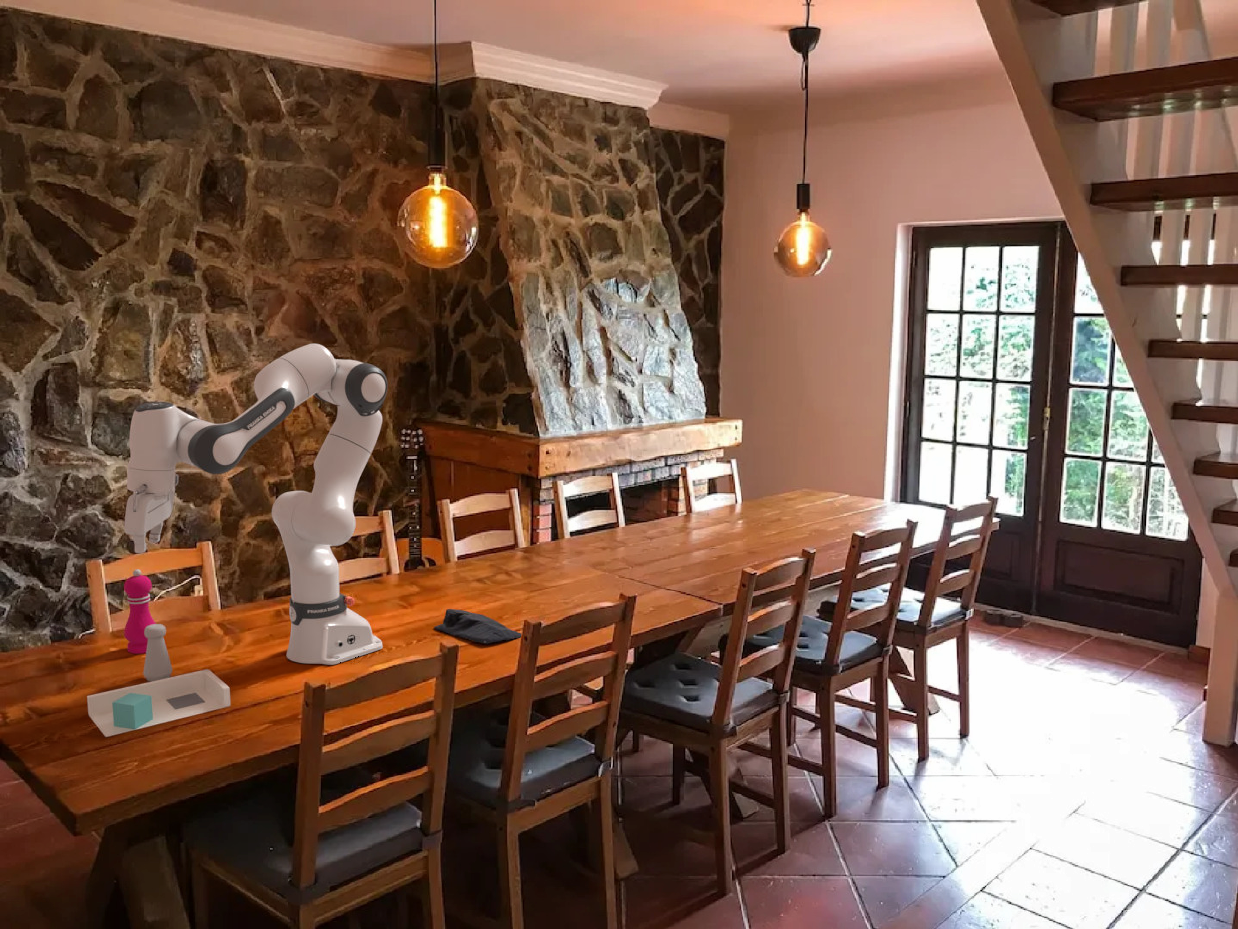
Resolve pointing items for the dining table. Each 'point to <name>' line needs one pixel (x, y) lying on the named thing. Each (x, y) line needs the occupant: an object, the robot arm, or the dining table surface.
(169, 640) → the dining table surface
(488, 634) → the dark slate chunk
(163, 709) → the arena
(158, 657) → the salt shaker
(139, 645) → the pepper mill
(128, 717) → the cube
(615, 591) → the dining table surface
